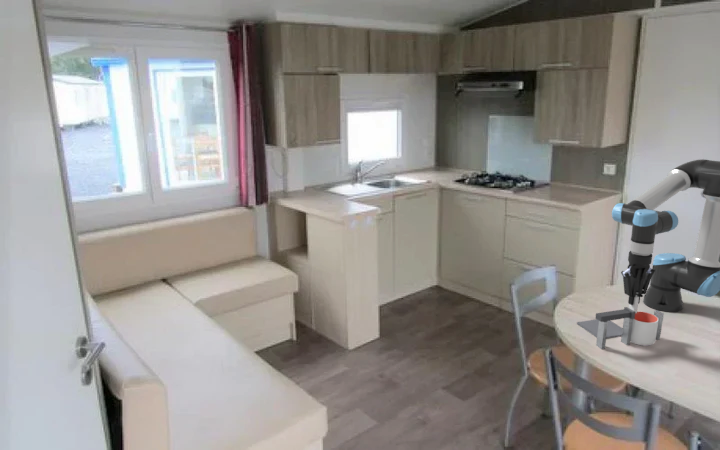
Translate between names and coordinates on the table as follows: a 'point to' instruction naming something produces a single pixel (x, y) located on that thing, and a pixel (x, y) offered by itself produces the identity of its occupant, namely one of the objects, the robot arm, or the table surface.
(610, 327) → the mat
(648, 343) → the cup
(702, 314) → the table surface
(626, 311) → the bar
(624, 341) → the posts
